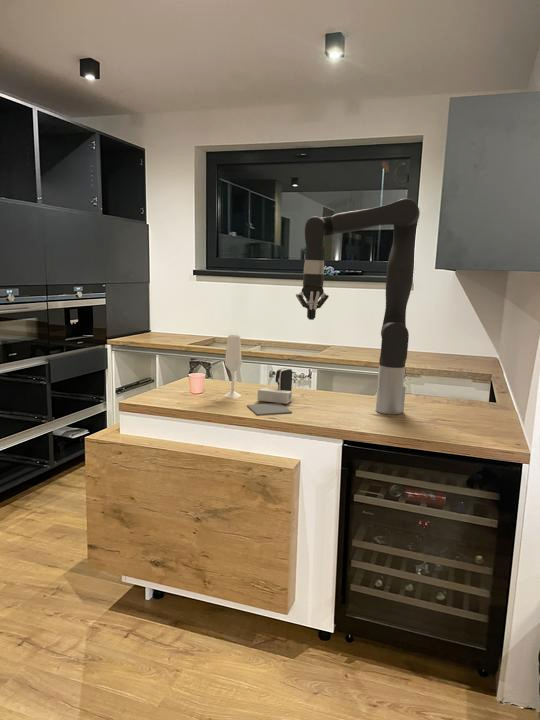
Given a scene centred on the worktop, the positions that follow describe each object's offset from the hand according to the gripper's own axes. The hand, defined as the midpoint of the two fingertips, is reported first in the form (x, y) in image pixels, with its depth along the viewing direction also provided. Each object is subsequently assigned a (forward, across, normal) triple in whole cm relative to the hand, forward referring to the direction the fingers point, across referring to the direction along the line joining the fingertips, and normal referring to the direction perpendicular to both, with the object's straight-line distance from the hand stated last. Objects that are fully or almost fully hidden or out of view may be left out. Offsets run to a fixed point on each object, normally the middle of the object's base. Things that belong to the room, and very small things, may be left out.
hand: (310, 319), depth 196 cm
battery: (+32, +6, -9) cm, 34 cm away
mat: (+32, +18, +7) cm, 37 cm away
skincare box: (+30, +7, +1) cm, 31 cm away
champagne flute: (+32, +25, -15) cm, 44 cm away
